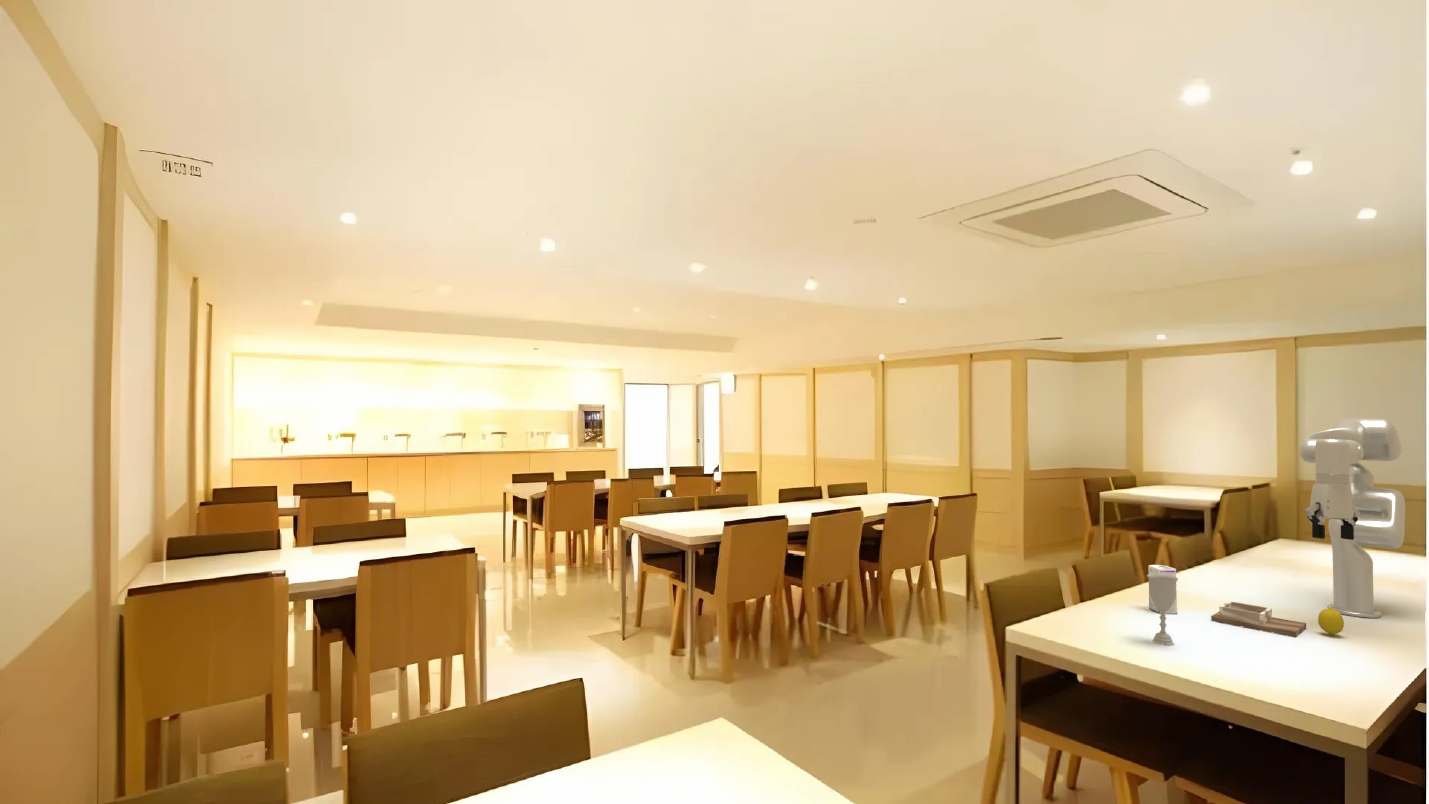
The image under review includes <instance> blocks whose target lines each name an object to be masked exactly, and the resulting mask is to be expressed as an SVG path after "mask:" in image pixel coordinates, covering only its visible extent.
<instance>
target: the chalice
mask: <svg viewBox="0 0 1429 804" xmlns="http://www.w3.org/2000/svg"><path fill="white" fill-rule="evenodd" d="M1146 577H1147V578H1148V594H1149V593H1150V596H1151V598H1152V601H1153V603H1154V604H1155V606H1156V608H1157V609H1158V610H1160V611H1161V613H1160V616H1159V619H1160V622H1159V624H1158V625H1159V627H1160V630H1159V632H1156V633H1155V634H1154V636H1153V639H1152V640H1151V641H1152V642H1153V641H1154V642H1153V643H1155V642H1156V643H1155V644H1157V643H1158V645H1161V644H1166V645H1165V646H1173V645H1172V644H1174V645H1175V643H1174V641H1173V639H1172V636H1171V635H1170V634H1169V633H1167V631H1166V627H1167V623H1166V620H1167V617H1166V614H1165V611H1168V610H1169V609H1170V608H1171V606H1172V604H1173V603H1174V601H1175V598H1176V591H1177V582H1178V580H1179V578H1178V577H1177V576H1176V577H1173V576H1168V575H1160V574H1149V573H1148V574H1147V575H1146Z"/></svg>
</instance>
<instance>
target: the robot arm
mask: <svg viewBox="0 0 1429 804" xmlns="http://www.w3.org/2000/svg"><path fill="white" fill-rule="evenodd" d="M1401 454H1402V445H1401V441H1400V437H1399V434H1398V431H1397V429H1396V426H1395V425H1394V423H1393V422H1392V421H1390V420H1389V419H1387V418H1381V417H1380V418H1379V417H1378V418H1376V417H1369V418H1365V417H1364V418H1362V417H1360V418H1358V417H1357V418H1353V417H1352V418H1351V417H1350V418H1344V419H1341V420H1339V421H1338V422H1337V423H1336V424H1335V425H1334V426H1333V427H1332V428H1329V429H1327V430H1326V429H1325V430H1322V431H1316V432H1312V433H1309V434H1308V435H1306V436H1305V437H1304V439H1303V440H1302V441H1301V443H1300V446H1299V455H1300V458H1301V459H1302V460H1303V461H1304V462H1306V463H1309V464H1315V467H1314V468H1315V484H1313V486H1312V489H1311V492H1310V493H1311V495H1310V503H1309V506H1308V507H1306V508H1305V509H1304V510H1305V511H1304V512H1305V513H1306V516H1307V519H1308V520H1309V523H1310V524H1311V526H1312V527H1311V530H1312V531H1311V533H1312V534H1311V537H1312V538H1314V539H1321V540H1323V539H1324V540H1325V538H1326V525H1324V523H1325V522H1326V520H1327V519H1328V525H1327V526H1328V532H1329V536H1330V541H1331V550H1332V551H1331V552H1332V553H1331V554H1332V582H1333V583H1332V585H1333V586H1332V590H1333V591H1332V593H1333V603H1332V604H1331V603H1329V604H1327V605H1326V607H1327V608H1326V609H1328V608H1333V609H1334V610H1336V611H1338V612H1339V613H1340V614H1341V615H1346V616H1351V617H1358V618H1368V619H1369V618H1370V619H1376V618H1377V619H1378V618H1381V616H1382V613H1381V612H1380V611H1379V610H1376V609H1374V607H1375V603H1374V599H1375V597H1374V561H1373V559H1372V557H1371V555H1370V554H1369V553H1368V552H1367V551H1366V550H1365V549H1364V548H1363V547H1370V548H1371V547H1372V548H1380V549H1381V548H1382V549H1400V547H1402V545H1403V543H1404V540H1405V525H1406V524H1405V521H1406V518H1405V517H1406V502H1405V498H1404V495H1403V493H1402V492H1401V491H1399V490H1398V489H1394V488H1388V487H1387V488H1386V487H1374V483H1375V476H1374V474H1373V473H1372V472H1371V471H1370V470H1369V469H1368V468H1367V467H1366V466H1364V465H1363V464H1361V463H1360V462H1361V461H1373V462H1374V461H1378V462H1393V461H1396V460H1398V459H1400V456H1401Z"/></svg>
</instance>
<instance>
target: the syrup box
mask: <svg viewBox="0 0 1429 804" xmlns="http://www.w3.org/2000/svg"><path fill="white" fill-rule="evenodd" d="M1147 570H1148V575H1149V574H1160V575H1168V576H1173V577H1176V578H1177V569H1176V568H1174V567H1172V566H1168V565H1166V564H1165V565H1164V564H1149V565H1148V569H1147ZM1177 592H1178V591H1177V590H1176V598H1175V601H1174V603H1173V604H1172V606H1171V608H1170V609H1169V610H1168V611H1165V615H1177V614H1178V602H1177V601H1178V600H1177V597H1178V596H1177V595H1178V593H1177ZM1148 606H1149V607H1148V609H1149V610H1151V611H1153V612H1155V613H1158V614H1161V611H1160V610H1158V609H1157V608H1156V606H1155V604H1154V603H1153V601H1152V598H1151V596H1150V593H1149V592H1148Z"/></svg>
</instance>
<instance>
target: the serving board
mask: <svg viewBox="0 0 1429 804" xmlns="http://www.w3.org/2000/svg"><path fill="white" fill-rule="evenodd" d="M1218 607H1219V611H1217V612H1216V613H1214V614H1212V615H1211V616H1210V619H1211V620H1210V622H1214V621H1215V623H1220V624H1225V623H1226V624H1225V625H1230V626H1236V627H1240V626H1243V627H1242V628H1245V627H1246V629H1250V628H1251V629H1250V630H1255V629H1258V630H1257V631H1260V630H1263V631H1262V632H1266V631H1267V633H1271V632H1274V633H1273V634H1276V633H1278V634H1277V635H1282V636H1286V635H1288V636H1287V637H1293V638H1297V637H1298V636H1299V635H1300V634H1302V633H1303V632H1304V631H1305V630H1306V629H1307V623H1306V622H1300V621H1296V620H1291V619H1286V618H1285V619H1283V618H1279V617H1274V616H1273V615H1272V614H1273V608H1271V607H1265V606H1260V605H1253V604H1250V603H1249V604H1248V603H1243V602H1237V601H1233V600H1232V601H1230V600H1229V601H1227V602H1225V603H1223V604H1221V605H1220V606H1218Z"/></svg>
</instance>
